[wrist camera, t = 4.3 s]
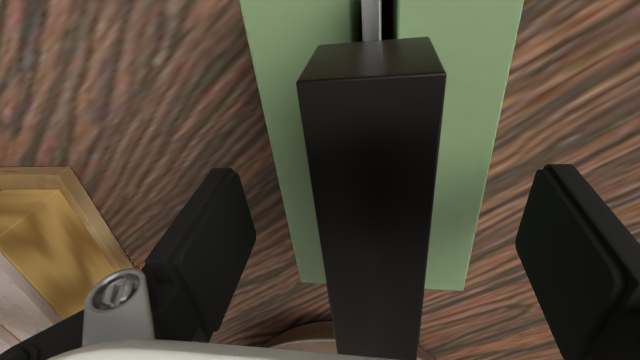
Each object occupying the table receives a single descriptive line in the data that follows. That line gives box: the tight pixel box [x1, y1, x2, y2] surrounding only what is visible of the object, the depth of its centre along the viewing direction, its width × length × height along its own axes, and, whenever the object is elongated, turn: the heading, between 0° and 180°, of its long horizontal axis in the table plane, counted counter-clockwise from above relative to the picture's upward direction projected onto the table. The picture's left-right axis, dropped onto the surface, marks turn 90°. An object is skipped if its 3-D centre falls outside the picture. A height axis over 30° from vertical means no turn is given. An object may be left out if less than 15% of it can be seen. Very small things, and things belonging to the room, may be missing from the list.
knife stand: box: [239, 0, 524, 291], centre depth 14 cm, size 12×7×5 cm, turn 6°
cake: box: [0, 166, 134, 354], centre depth 23 cm, size 13×11×6 cm
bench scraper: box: [296, 0, 447, 360], centre depth 12 cm, size 12×2×9 cm, turn 6°
